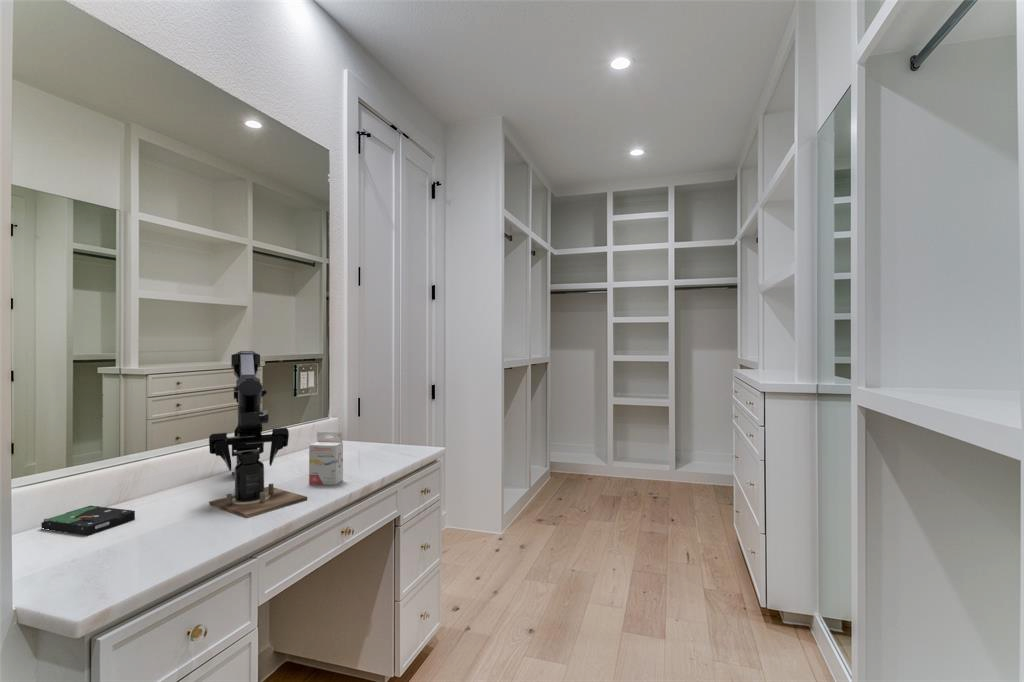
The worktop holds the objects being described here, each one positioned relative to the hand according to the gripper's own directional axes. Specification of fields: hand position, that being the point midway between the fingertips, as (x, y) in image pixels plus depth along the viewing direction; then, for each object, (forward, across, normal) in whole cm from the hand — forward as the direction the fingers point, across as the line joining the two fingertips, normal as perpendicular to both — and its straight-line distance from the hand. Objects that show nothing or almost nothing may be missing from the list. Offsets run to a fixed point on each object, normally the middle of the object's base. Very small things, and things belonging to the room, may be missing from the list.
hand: (250, 467), depth 127 cm
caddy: (+7, +2, +7) cm, 10 cm away
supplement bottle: (+5, 0, +7) cm, 9 cm away
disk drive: (+6, -33, +9) cm, 34 cm away
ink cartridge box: (-1, +20, +14) cm, 25 cm away
